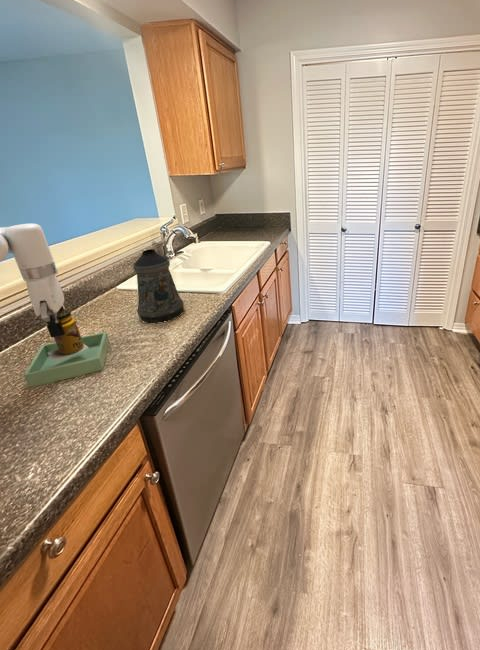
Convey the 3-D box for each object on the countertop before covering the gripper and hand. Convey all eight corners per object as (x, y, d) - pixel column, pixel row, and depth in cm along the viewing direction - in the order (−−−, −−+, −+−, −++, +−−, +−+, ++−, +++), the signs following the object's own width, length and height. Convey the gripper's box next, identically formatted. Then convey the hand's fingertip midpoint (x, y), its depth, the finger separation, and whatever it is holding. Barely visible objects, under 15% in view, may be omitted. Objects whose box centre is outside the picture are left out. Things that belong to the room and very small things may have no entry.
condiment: (89, 348, 96) (77, 311, 92) (57, 362, 90) (42, 324, 85) (79, 341, 100) (66, 306, 96) (47, 354, 94) (32, 317, 90)
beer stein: (151, 328, 114) (134, 261, 105) (129, 313, 127) (112, 252, 117) (192, 312, 126) (180, 250, 116) (169, 299, 138) (156, 242, 128)
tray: (29, 387, 87) (23, 375, 85) (46, 356, 101) (42, 344, 100) (102, 370, 93) (98, 358, 91) (109, 342, 107) (106, 331, 106)
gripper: (32, 264, 92) (53, 320, 99) (9, 284, 77) (36, 348, 84) (63, 260, 95) (82, 315, 101) (46, 278, 80) (69, 341, 87)
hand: (61, 329), depth 93 cm, fingers closed on condiment, 6 cm apart
